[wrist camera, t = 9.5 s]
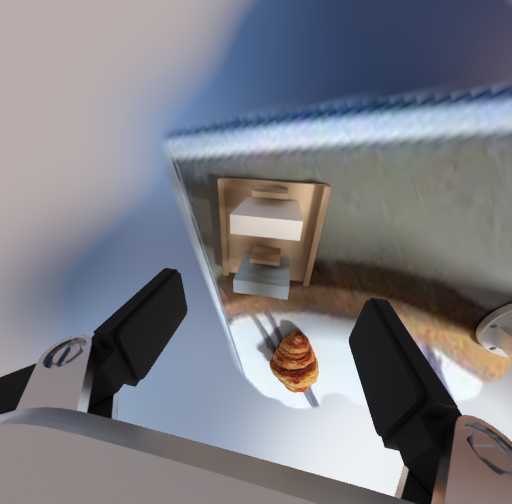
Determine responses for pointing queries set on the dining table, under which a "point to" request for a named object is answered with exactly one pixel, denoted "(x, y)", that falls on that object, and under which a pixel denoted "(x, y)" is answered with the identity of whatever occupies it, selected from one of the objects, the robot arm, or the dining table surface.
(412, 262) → the dining table surface
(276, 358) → the croissant
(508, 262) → the dining table surface
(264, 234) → the low beige gift box
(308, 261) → the dish rack
